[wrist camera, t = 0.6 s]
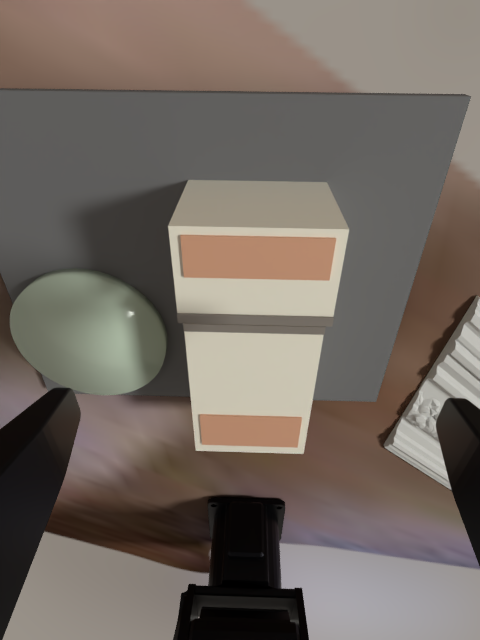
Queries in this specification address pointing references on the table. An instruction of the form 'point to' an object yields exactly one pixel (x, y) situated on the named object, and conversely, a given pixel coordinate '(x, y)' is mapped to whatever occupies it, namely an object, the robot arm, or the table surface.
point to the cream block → (257, 253)
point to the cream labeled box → (252, 385)
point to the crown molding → (440, 398)
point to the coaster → (89, 331)
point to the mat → (233, 165)
